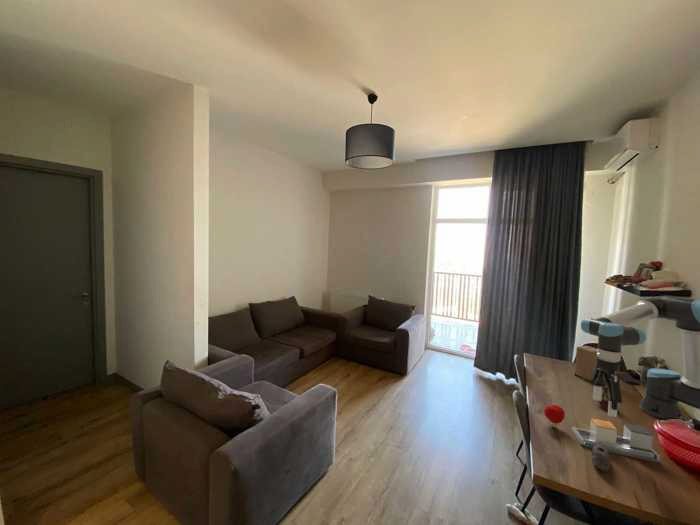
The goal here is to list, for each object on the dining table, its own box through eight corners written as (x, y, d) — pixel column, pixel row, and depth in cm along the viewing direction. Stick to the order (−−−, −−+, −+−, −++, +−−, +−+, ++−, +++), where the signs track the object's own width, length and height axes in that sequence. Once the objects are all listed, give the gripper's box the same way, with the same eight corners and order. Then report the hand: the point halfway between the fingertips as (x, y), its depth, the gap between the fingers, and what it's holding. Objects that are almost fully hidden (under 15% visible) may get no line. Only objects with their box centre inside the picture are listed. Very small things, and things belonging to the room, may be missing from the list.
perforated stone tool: (592, 449, 121) (593, 434, 120) (608, 456, 117) (610, 440, 117) (590, 469, 110) (591, 452, 109) (608, 477, 106) (610, 459, 106)
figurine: (593, 406, 155) (594, 384, 154) (593, 400, 161) (595, 380, 160) (617, 413, 148) (619, 391, 148) (617, 407, 154) (619, 386, 154)
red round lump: (552, 433, 131) (554, 412, 130) (538, 423, 138) (540, 403, 137) (568, 430, 133) (569, 409, 133) (553, 421, 140) (555, 401, 140)
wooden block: (573, 375, 194) (575, 346, 193) (584, 373, 197) (586, 345, 196) (589, 381, 185) (592, 351, 184) (600, 380, 188) (602, 350, 187)
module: (608, 439, 126) (610, 422, 125) (615, 447, 121) (617, 429, 120) (589, 435, 128) (590, 418, 128) (595, 443, 123) (596, 425, 123)
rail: (643, 446, 124) (645, 424, 123) (659, 462, 114) (661, 439, 114) (571, 431, 132) (573, 411, 132) (581, 445, 123) (582, 423, 122)
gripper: (585, 348, 135) (581, 392, 136) (612, 369, 112) (608, 421, 113) (604, 351, 133) (600, 395, 134) (636, 372, 110) (632, 426, 111)
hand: (604, 407), depth 124 cm, fingers open, 12 cm apart
